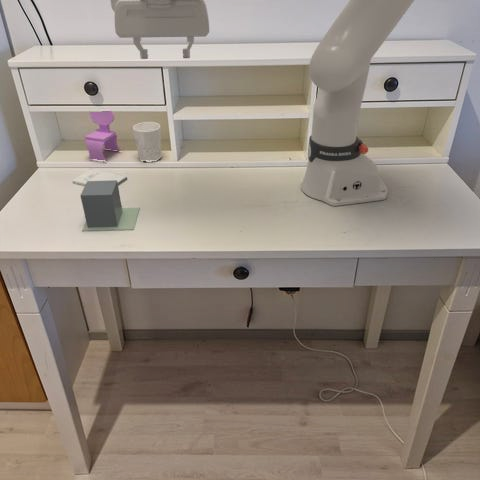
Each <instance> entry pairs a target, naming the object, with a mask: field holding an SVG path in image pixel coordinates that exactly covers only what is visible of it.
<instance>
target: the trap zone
mask: <svg viewBox="0 0 480 480" xmlns="http://www.w3.org/2000/svg"><path fill="white" fill-rule="evenodd" d="M140 209H141V208H140V207H122V215H121V218H120V221H119V224H118V227H92V228H88V227H87V223H86V222H84V225H83V227H82V230H81V232H103V231H104V232H107V231H108V232H109V231H113V232H115V231H134V230H135V226H136V223H137V220H138V215H139V213H140Z"/></svg>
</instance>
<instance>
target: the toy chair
mask: <svg viewBox="0 0 480 480" xmlns="http://www.w3.org/2000/svg"><path fill="white" fill-rule="evenodd" d="M89 116H90V119H91V120H92V122H93V123H94V124H96V125H98V127H99V128H97V129H95V130H94V131H93V132H90V133H89V134H87V135H85V137H84V138H85V145H86V147H87V149H88V150H87V151H88V153H89V159H97V160H105V161H107V159H106V158H105V155H104V154H103V153H104V152H103V150H104V148H105V149H111V150H117V151H122V150H121V149H120V147H119V146H118V142H117V141H118V139H117V138H118V135H117V132H116V131H115V130H114V131H113V130H110V129H111V128H110V125H111V124H112V123H113V122H114V120H115V114H114V112H113V111H112V110H111V111H102V112H90V111H89Z"/></svg>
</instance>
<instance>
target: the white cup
mask: <svg viewBox="0 0 480 480" xmlns="http://www.w3.org/2000/svg"><path fill="white" fill-rule="evenodd" d="M132 130H133V136H134V142H135V145H136V146H135V147H136V150H137V154H138V158H140V159H141V160H149V161H150V160H157V159H160V158H161V157H162V135H161V133H162V131H161V125H160V124H159V123H158V122H155V121H144V122H139V123H136V124H134V125H133V126H132ZM162 158H163V157H162ZM162 158H161V159H162ZM140 159H139V160H140ZM161 159H160V160H161Z"/></svg>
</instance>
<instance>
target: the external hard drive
mask: <svg viewBox="0 0 480 480" xmlns="http://www.w3.org/2000/svg"><path fill="white" fill-rule="evenodd" d="M111 180H117V183H118V187H119V186H120V185H122V184H123V183H124V182H127V180H128V177H127V176H124V175H120V174H115V173H111V172H107V171H103V170H97V169H95V168H94V169H93V168H91V169H89V170H87V171H85V172H84V173H82V174H80V175H79V176H77V177H75V178H74V179H72V180H71V181H72V184H75V185H77V186H81V187H82V186H83V187H85V185H86V183H87V181H111Z"/></svg>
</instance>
